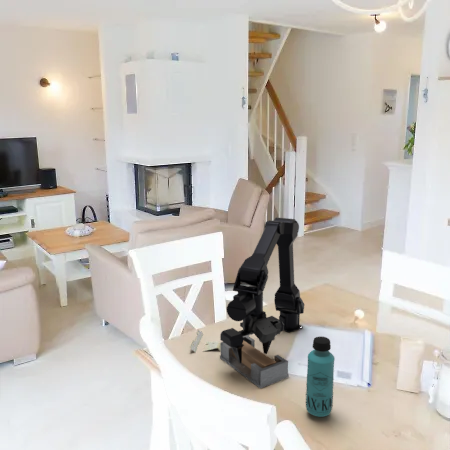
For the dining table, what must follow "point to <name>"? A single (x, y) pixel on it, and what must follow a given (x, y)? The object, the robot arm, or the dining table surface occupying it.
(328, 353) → the beverage bottle
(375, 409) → the dining table surface
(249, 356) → the rail
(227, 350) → the cradle
